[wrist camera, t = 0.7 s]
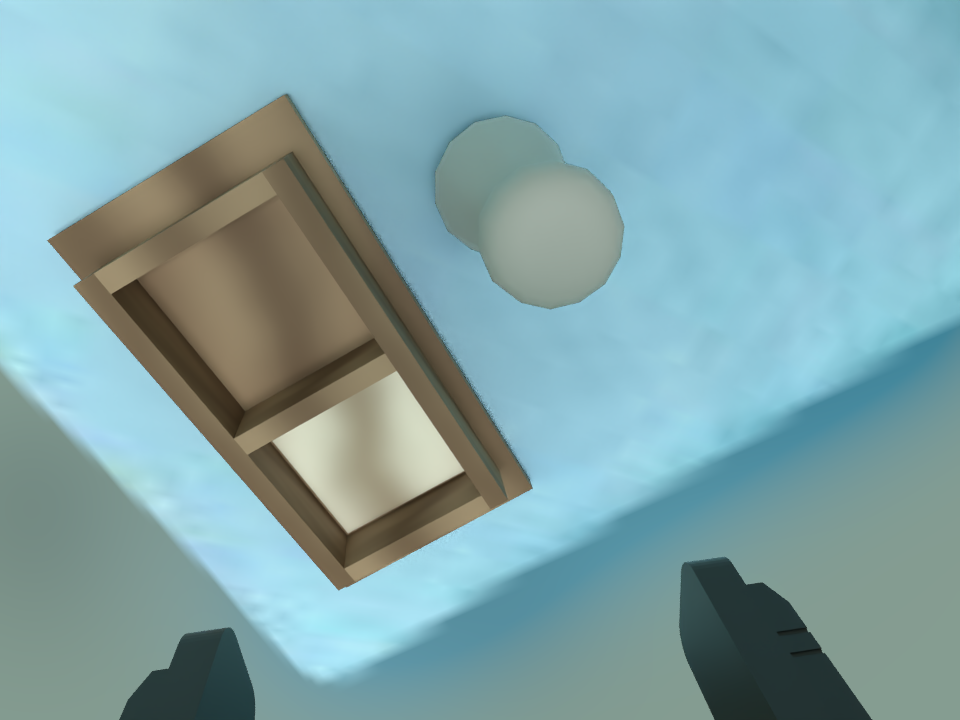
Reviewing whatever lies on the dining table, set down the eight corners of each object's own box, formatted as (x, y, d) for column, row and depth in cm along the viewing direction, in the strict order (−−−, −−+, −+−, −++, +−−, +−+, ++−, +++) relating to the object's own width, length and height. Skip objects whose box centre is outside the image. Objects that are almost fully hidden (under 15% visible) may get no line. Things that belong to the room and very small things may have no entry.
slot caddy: (286, 94, 28) (274, 97, 25) (529, 480, 38) (542, 518, 34) (55, 236, 29) (15, 256, 26) (347, 577, 39) (343, 623, 35)
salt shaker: (573, 211, 32) (682, 293, 20) (463, 262, 32) (508, 373, 20) (527, 89, 29) (621, 102, 18) (409, 146, 30) (424, 195, 18)
